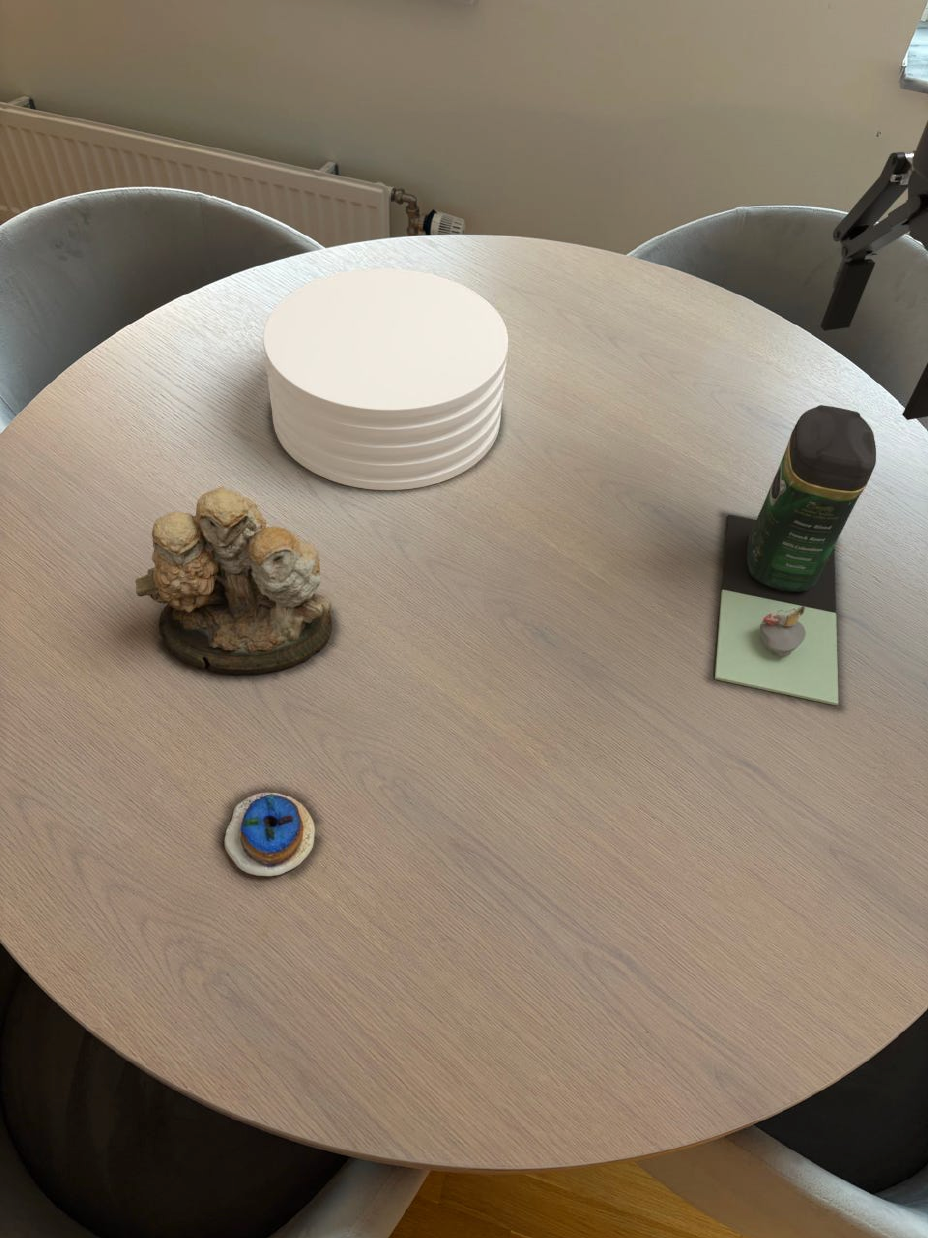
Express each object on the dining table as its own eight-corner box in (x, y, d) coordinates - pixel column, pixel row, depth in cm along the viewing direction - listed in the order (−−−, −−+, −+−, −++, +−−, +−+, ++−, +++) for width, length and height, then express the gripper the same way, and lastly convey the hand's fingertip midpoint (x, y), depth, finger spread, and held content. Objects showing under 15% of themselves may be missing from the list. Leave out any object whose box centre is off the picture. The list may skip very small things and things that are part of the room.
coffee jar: (818, 602, 101) (887, 469, 87) (743, 587, 102) (799, 453, 87) (816, 539, 107) (881, 405, 93) (746, 525, 108) (799, 391, 94)
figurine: (787, 669, 95) (807, 631, 90) (746, 648, 96) (764, 610, 92) (806, 635, 98) (826, 597, 93) (766, 616, 99) (784, 578, 95)
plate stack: (459, 334, 129) (463, 256, 121) (532, 466, 113) (544, 387, 104) (253, 364, 123) (242, 283, 114) (299, 509, 106) (291, 428, 97)
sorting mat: (837, 706, 93) (838, 703, 92) (714, 679, 94) (715, 676, 94) (832, 537, 108) (834, 535, 108) (727, 516, 109) (728, 514, 109)
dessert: (325, 864, 78) (277, 841, 74) (265, 899, 80) (215, 879, 76) (313, 784, 84) (267, 759, 80) (257, 819, 86) (209, 796, 81)
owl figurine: (142, 678, 90) (98, 554, 77) (159, 585, 98) (122, 458, 85) (332, 674, 92) (322, 552, 79) (335, 583, 99) (325, 458, 86)
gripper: (848, 59, 76) (770, 298, 92) (1055, 209, 61) (918, 464, 77) (928, 53, 77) (837, 289, 94) (1149, 198, 62) (996, 450, 78)
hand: (874, 369), depth 85 cm, fingers open, 13 cm apart
